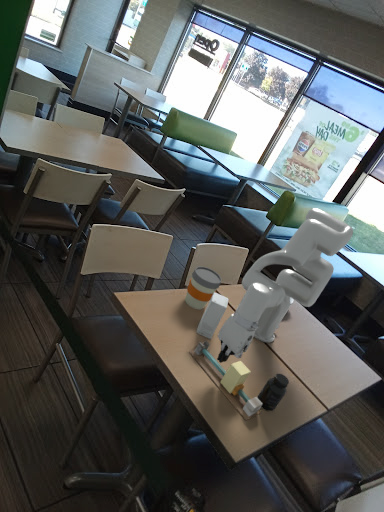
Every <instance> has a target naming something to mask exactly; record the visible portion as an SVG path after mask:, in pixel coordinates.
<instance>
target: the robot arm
mask: <svg viewBox="0 0 384 512" xmlns="http://www.w3.org/2000/svg"><path fill="white" fill-rule="evenodd" d="M353 234H354V229H353V227H352V226H350V225H349V224H347V223H345V222H344V221H343V220H340V219H339V218H336V217H335V216H334V215H332V214H330V213H328V212H327V211H324V210H322V209H320V208H316V207H313V208H310V209H308V211H307V213H306V215H305V219H304V221H303V222H302V223H301V224H300V226H299V227H298V228H297V230H296V231H295V232H294V234H293V235H292V236H291V237H290V239H289V240H288V241H287V243H286V244H285V245H284V246H283V248H281V249H280V250H276V251H272V252H269V253H266V254H264V255H262V256H260V257H259V258H258V259H257V260H255V262H254V263H253V264H252V266H250V268H249V269H248V270H247V272H246V273H245V274H244V276H243V278H242V279H241V286H242V287H243V289H244V290H245V294H244V295H243V296H242V298H241V301H240V302H239V304H238V306H237V308H236V309H235V311H234V313H232V314H231V315H229V317H228V318H227V319H226V320H225V321H224V323H223V325H222V326H221V327H220V329H219V332H218V335H217V338H218V340H219V341H220V350H219V353H218V356H217V358H216V360H217V361H218V363H219V364H220V363H225V362H227V361H228V359H229V358H230V357H231V356H234V357H235V358H237V359H241V358H242V357H243V353H246V352H247V351H248V349H249V347H250V346H251V344H252V341H253V339H254V338H255V339H256V340H257V341H261V342H263V343H268V344H269V343H272V342H273V341H274V340H275V338H276V336H275V332H276V330H277V329H280V324H281V322H282V320H283V319H284V317H285V315H286V314H287V312H288V311H289V309H290V307H291V305H290V297H291V298H293V299H294V301H295V302H297V303H299V304H300V305H302V306H304V307H308V308H310V307H312V306H313V305H314V304H315V303H316V301H317V299H318V298H319V297H320V295H321V293H322V292H323V291H324V289H325V287H326V286H327V285H328V283H329V281H330V279H331V278H332V275H333V273H334V268H335V267H334V265H333V264H332V263H331V262H329V261H328V260H326V259H325V258H323V257H322V256H321V255H322V254H324V255H326V256H328V257H333V256H335V255H336V254H337V253H339V251H340V250H342V249H343V248H345V246H346V245H347V244H348V243H349V242H350V240H351V239H352V237H353ZM271 265H282V266H283V265H284V266H290V267H292V268H293V269H294V270H292V269H288V268H286V269H282V270H281V271H280V272H279V273H278V276H277V278H276V279H275V282H274V280H272V279H271V278H269V277H268V276H266V275H265V274H263V273H262V272H261V271H262V270H263V268H266V267H267V266H271Z"/></svg>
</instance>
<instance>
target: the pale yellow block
mask: <svg viewBox="0 0 384 512" xmlns="http://www.w3.org/2000/svg"><path fill="white" fill-rule="evenodd" d="M250 374H251V370H250V369H249V368H248V367H247V366H246V365H245V363H244V362H243V361H241V360H239V361H235V362H233V363H231V364H229V367H228V369H227V370H226V373H225V375H224V377H223V378H222V380H221V382H220V383H221V384H222V385H223V386H224V387H225V388H226V390H227V391H228V392H229V393H232V392H233V390H234V388H235V387H236V386H237V385H240V384H243V385H244V383H245V382H246V381H247V378H248V377H249V376H250Z"/></svg>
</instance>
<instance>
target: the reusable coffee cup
mask: <svg viewBox="0 0 384 512" xmlns="http://www.w3.org/2000/svg"><path fill="white" fill-rule="evenodd" d="M191 275H192V276H191V278H190V279H189V282H188V286H187V288H186V291H187V292H186V296H185V298H184V301H185V303H186V304H187V306H189V307H191V308H192V309H195V310H203V309H204V308H205V307H206V305H208V303H209V302H210V299H211V297H212V295H213V293H214V292H215V293H217V290H218V289H219V288H220V286H221V283H222V281H223V279H222V277H221V276H220V274H219V273H218V272H216V271H215V270H213V269H211V268H209V267H206V266H202V265H201V266H196V267H195V269H194V270H193V272H192V273H191Z"/></svg>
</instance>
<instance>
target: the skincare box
mask: <svg viewBox="0 0 384 512" xmlns="http://www.w3.org/2000/svg"><path fill="white" fill-rule="evenodd" d="M228 303H229V298H228V297H226V296H224V295H221V294H220V293H217V292H216V293H215V292H214V293H213V295H212V297H211V299H210V301H208V303H207V306H206V308H205V310H204V312H203V313H202V317H201V319H200V320H199V323H198V326H197V329H196V333H197V334H198V335H200V336H202V337H204V338H206V339H209V340H211V339H212V338H213V335H214V334H215V332H216V330H217V329H218V328H217V327H218V326H219V324H220V322H221V320H222V318H223V316H224V314H225V313H226V310H227V308H228Z"/></svg>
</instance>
